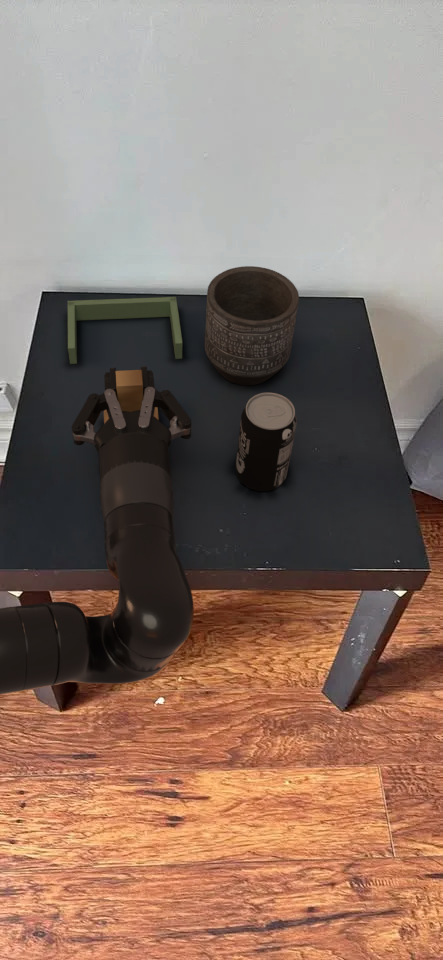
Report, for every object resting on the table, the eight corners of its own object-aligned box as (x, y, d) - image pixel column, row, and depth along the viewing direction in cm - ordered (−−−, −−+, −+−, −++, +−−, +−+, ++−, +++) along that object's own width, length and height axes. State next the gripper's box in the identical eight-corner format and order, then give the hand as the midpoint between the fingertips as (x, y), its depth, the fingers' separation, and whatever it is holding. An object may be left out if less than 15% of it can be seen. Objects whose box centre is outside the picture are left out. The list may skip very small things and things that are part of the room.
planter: (303, 379, 107) (317, 308, 97) (229, 406, 103) (236, 335, 93) (260, 327, 113) (268, 256, 103) (188, 351, 109) (190, 279, 99)
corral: (70, 364, 106) (67, 348, 104) (69, 316, 113) (67, 300, 110) (182, 358, 108) (182, 343, 106) (175, 312, 115) (175, 296, 112)
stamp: (106, 469, 95) (98, 391, 84) (105, 422, 100) (97, 343, 89) (162, 466, 96) (161, 388, 85) (157, 419, 101) (156, 340, 90)
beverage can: (228, 460, 97) (234, 395, 88) (275, 450, 99) (286, 385, 89) (244, 499, 93) (253, 436, 84) (293, 488, 95) (307, 424, 85)
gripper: (204, 460, 77) (187, 345, 87) (64, 469, 75) (64, 351, 85) (201, 503, 82) (186, 391, 93) (72, 512, 81) (71, 397, 91)
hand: (128, 372), depth 89 cm, fingers closed on stamp, 3 cm apart
